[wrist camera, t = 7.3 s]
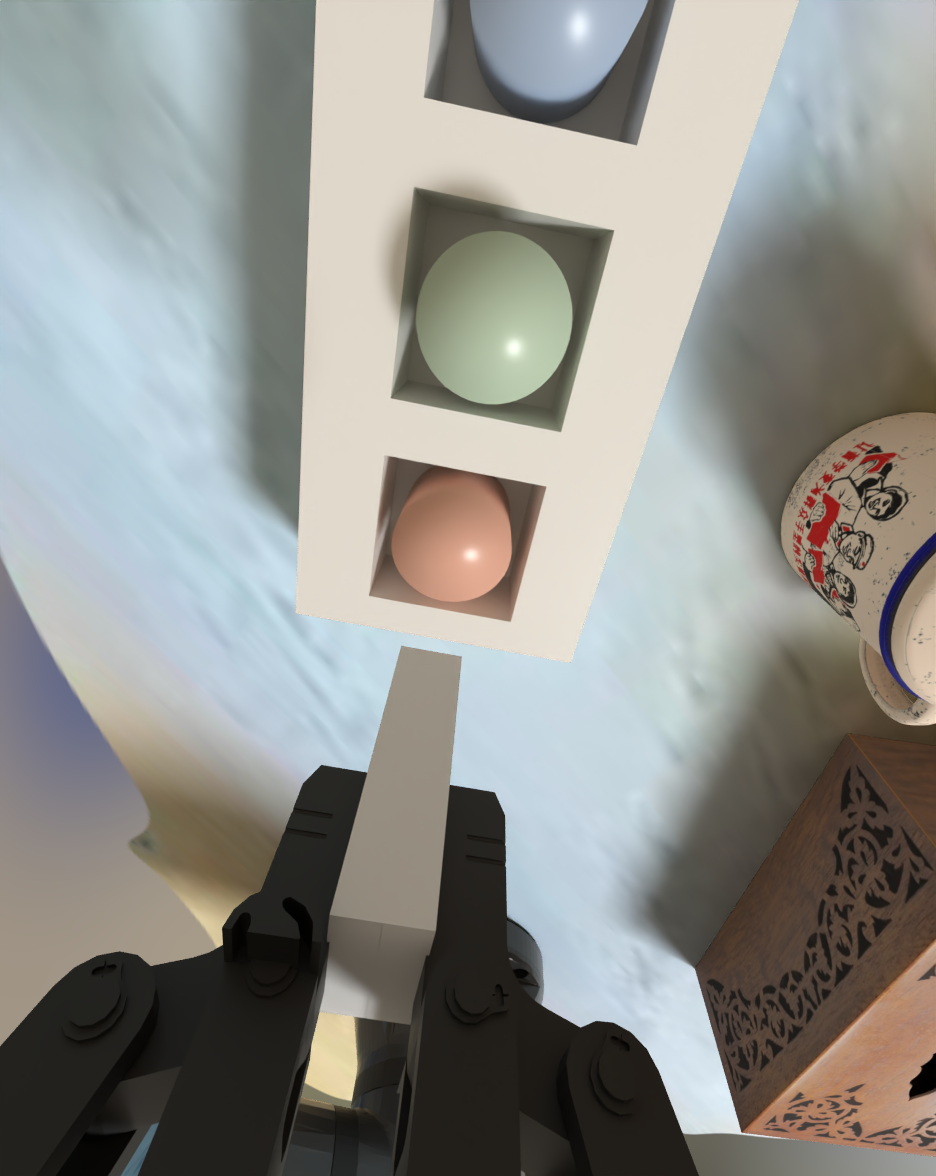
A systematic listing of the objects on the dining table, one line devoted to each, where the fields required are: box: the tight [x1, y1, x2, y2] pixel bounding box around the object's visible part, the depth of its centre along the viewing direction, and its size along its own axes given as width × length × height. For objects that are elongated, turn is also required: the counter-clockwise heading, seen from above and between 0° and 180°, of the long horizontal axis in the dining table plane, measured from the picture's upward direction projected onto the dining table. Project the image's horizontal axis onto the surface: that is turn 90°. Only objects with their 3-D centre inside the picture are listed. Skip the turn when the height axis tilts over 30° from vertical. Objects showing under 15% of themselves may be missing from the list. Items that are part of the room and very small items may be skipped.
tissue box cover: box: [695, 733, 936, 1157], centre depth 34 cm, size 26×14×10 cm, turn 172°
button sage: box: [416, 231, 572, 404], centre depth 18 cm, size 5×5×4 cm
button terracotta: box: [391, 465, 512, 602], centre depth 23 cm, size 5×5×4 cm
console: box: [296, 0, 799, 663], centre depth 20 cm, size 25×12×5 cm, turn 170°
